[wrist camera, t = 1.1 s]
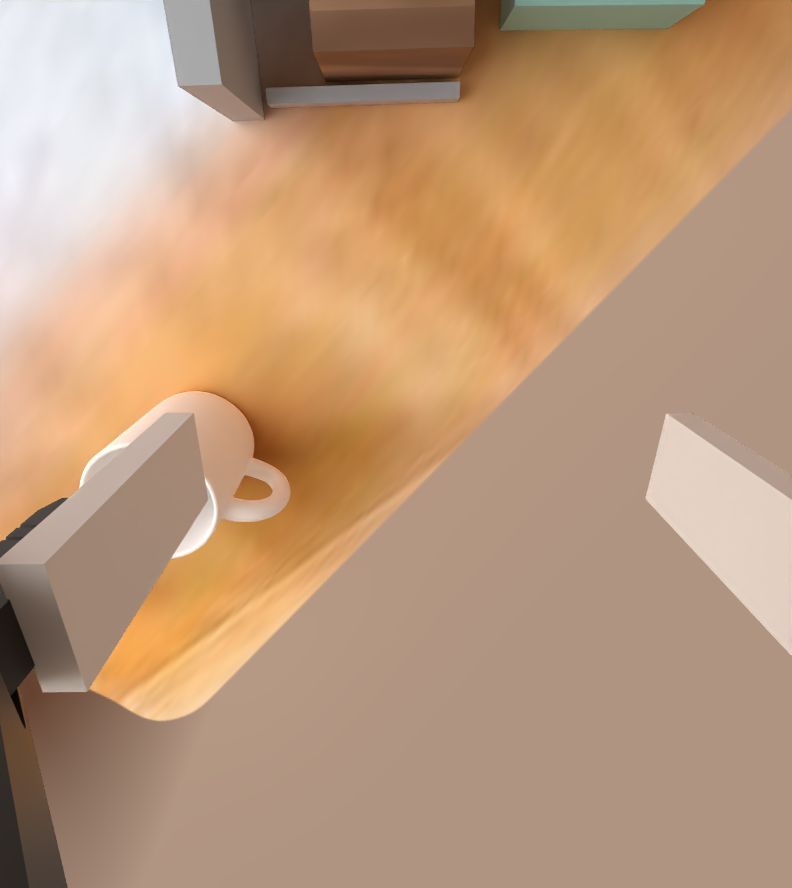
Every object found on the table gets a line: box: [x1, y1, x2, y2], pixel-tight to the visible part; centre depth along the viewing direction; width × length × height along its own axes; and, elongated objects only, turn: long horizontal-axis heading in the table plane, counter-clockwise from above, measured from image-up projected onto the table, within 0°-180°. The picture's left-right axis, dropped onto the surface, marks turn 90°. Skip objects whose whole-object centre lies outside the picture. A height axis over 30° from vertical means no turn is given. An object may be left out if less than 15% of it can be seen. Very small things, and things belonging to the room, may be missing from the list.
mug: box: [80, 391, 291, 559], centre depth 36 cm, size 12×8×10 cm
